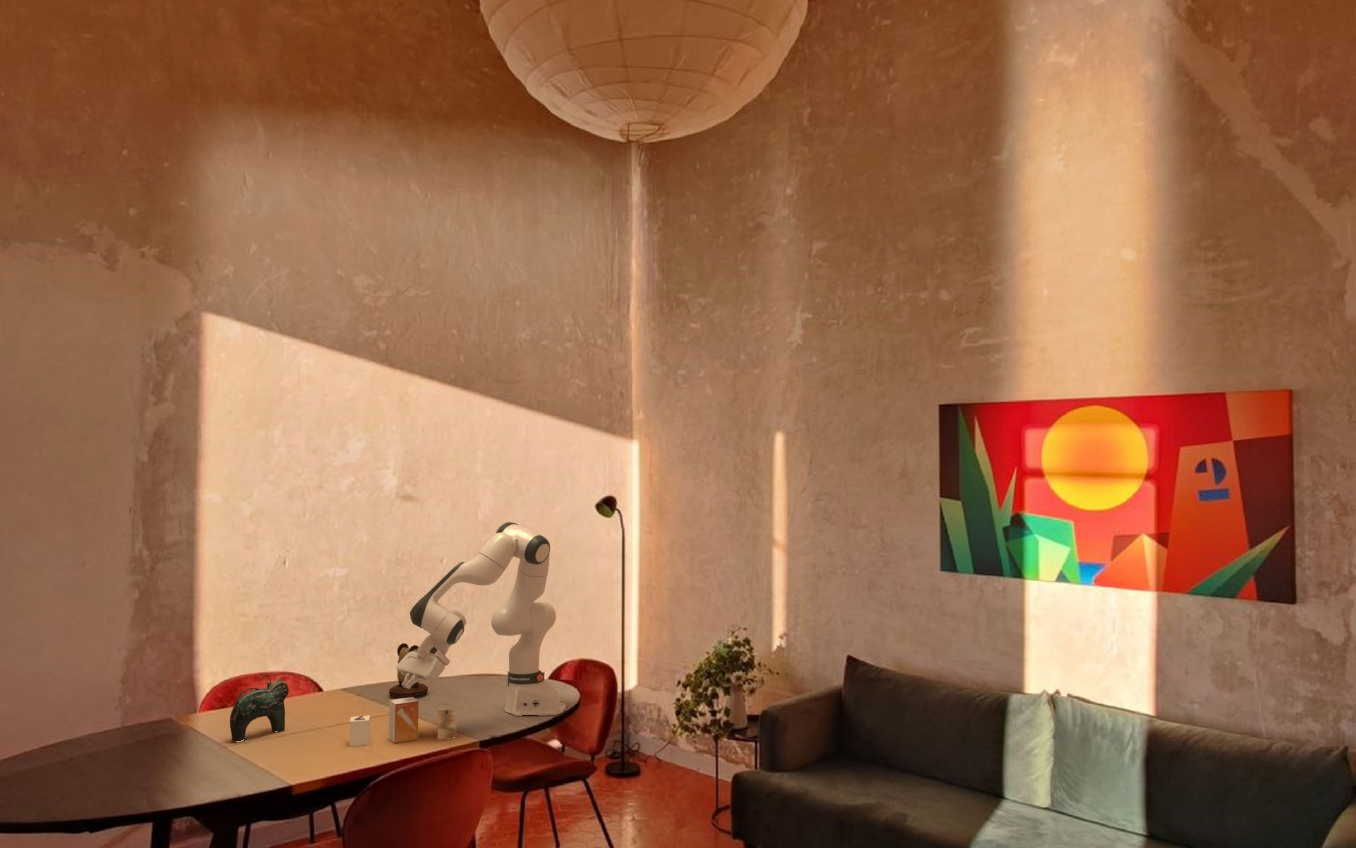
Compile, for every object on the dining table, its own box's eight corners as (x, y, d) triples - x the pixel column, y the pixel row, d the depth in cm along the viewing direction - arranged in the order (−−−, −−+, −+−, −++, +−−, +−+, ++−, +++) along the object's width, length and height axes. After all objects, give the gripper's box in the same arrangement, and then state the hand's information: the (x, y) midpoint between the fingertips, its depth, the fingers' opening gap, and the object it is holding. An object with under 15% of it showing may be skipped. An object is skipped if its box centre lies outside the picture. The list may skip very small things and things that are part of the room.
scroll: (381, 696, 377) (381, 645, 378) (411, 688, 389) (411, 639, 390) (405, 702, 369) (406, 649, 369) (435, 694, 381) (436, 643, 382)
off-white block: (369, 739, 321) (369, 714, 322) (368, 744, 316) (369, 719, 316) (350, 741, 320) (350, 715, 320) (349, 746, 314) (349, 720, 314)
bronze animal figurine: (281, 727, 336) (282, 669, 336) (292, 730, 332) (293, 672, 333) (226, 741, 320) (227, 681, 320) (237, 745, 316) (238, 683, 316)
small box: (394, 744, 316) (394, 704, 317) (388, 739, 322) (388, 699, 322) (418, 739, 321) (418, 700, 321) (412, 735, 326) (412, 696, 326)
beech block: (455, 733, 328) (455, 708, 329) (456, 738, 323) (456, 713, 323) (437, 734, 327) (437, 709, 327) (437, 739, 321) (437, 714, 321)
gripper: (408, 643, 334) (382, 676, 327) (441, 651, 320) (415, 686, 313) (419, 654, 337) (394, 687, 330) (453, 662, 324) (427, 697, 316)
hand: (405, 687), depth 321 cm, fingers closed
